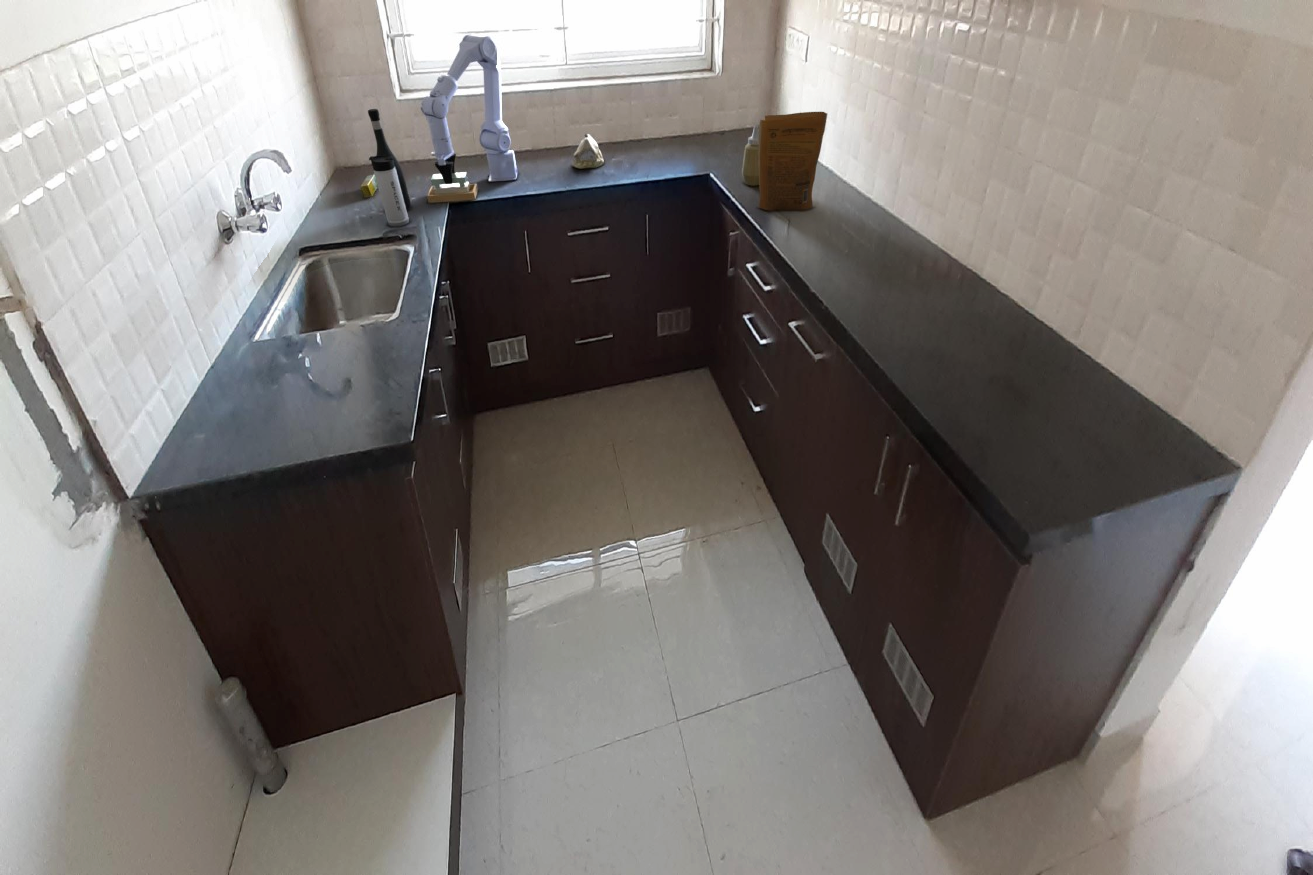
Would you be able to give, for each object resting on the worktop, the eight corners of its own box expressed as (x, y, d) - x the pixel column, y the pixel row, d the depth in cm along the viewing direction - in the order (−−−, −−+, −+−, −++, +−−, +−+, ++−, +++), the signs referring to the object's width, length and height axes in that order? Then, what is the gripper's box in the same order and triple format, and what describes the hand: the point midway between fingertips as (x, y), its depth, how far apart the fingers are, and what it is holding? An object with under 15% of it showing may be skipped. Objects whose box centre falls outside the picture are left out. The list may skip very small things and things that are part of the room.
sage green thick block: (468, 181, 237) (466, 172, 235) (466, 187, 233) (464, 177, 231) (435, 184, 236) (433, 174, 234) (432, 189, 232) (430, 179, 230)
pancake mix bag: (818, 212, 215) (829, 114, 197) (754, 213, 216) (759, 115, 199) (816, 204, 220) (826, 107, 202) (754, 205, 221) (758, 108, 204)
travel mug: (389, 219, 223) (371, 154, 210) (411, 218, 223) (394, 152, 211) (385, 227, 218) (366, 160, 205) (407, 226, 218) (389, 159, 206)
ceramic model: (602, 168, 254) (600, 139, 248) (571, 169, 254) (568, 140, 248) (605, 156, 265) (603, 127, 258) (575, 157, 265) (572, 128, 259)
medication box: (371, 186, 248) (367, 175, 245) (379, 185, 248) (375, 173, 245) (364, 198, 238) (359, 186, 236) (372, 196, 238) (367, 184, 236)
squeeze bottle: (768, 180, 238) (772, 123, 227) (761, 188, 232) (764, 130, 221) (745, 178, 241) (748, 121, 230) (737, 185, 235) (739, 128, 224)
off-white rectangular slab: (470, 191, 239) (468, 181, 237) (468, 196, 235) (466, 187, 233) (437, 193, 238) (435, 184, 236) (435, 199, 234) (433, 189, 232)
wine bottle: (388, 215, 226) (361, 115, 207) (384, 207, 231) (356, 109, 212) (414, 210, 228) (389, 110, 210) (408, 202, 234) (383, 105, 215)
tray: (477, 190, 241) (476, 183, 239) (475, 199, 234) (473, 192, 232) (432, 193, 240) (430, 186, 239) (428, 203, 233) (426, 196, 232)
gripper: (431, 132, 231) (440, 174, 239) (424, 145, 219) (434, 189, 228) (453, 130, 231) (462, 173, 239) (447, 143, 220) (456, 187, 228)
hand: (450, 181), depth 234 cm, fingers closed on sage green thick block, 5 cm apart
